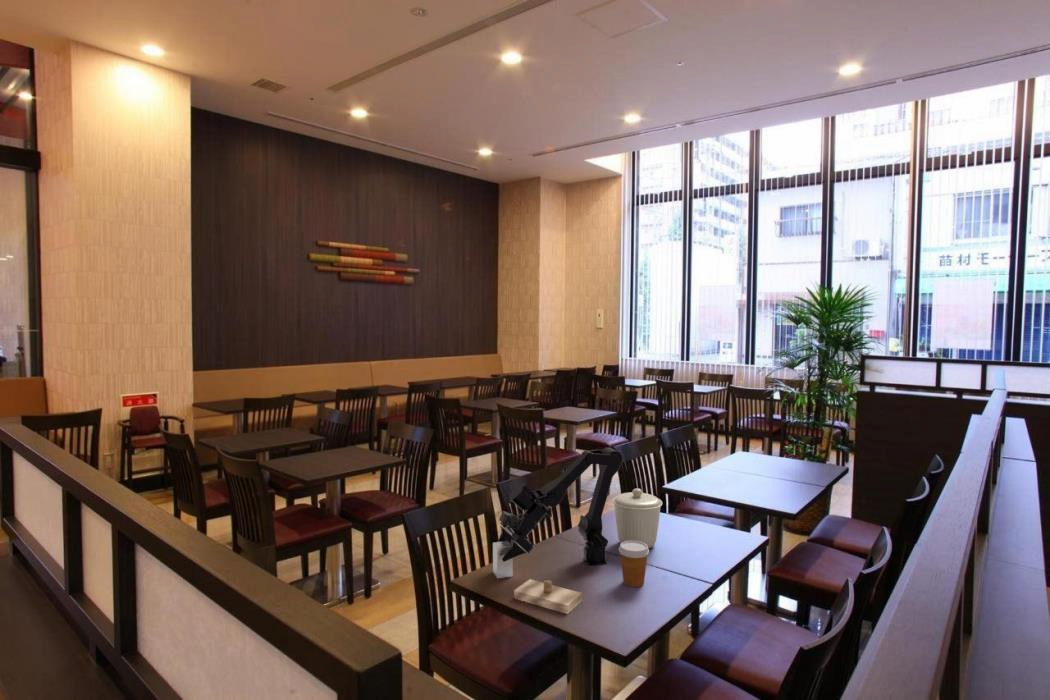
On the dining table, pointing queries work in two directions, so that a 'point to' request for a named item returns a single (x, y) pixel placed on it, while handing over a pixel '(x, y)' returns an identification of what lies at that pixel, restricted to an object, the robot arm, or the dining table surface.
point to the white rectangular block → (499, 566)
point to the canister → (637, 517)
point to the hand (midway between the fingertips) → (498, 555)
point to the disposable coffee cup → (633, 562)
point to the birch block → (548, 596)
